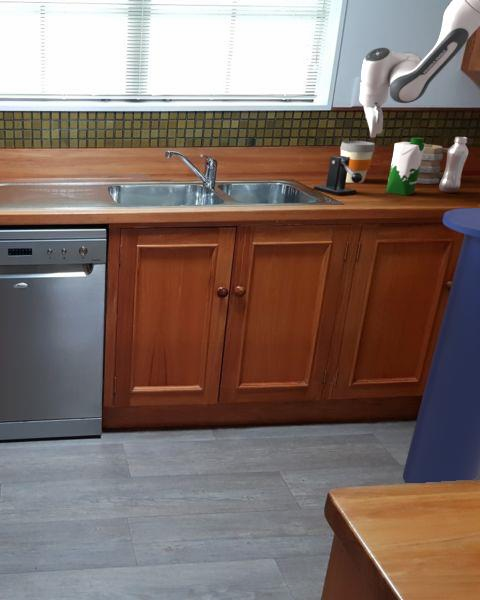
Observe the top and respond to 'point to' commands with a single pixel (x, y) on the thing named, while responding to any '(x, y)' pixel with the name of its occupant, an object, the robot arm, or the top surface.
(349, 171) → the tap lever
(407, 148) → the milk carton
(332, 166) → the black lever switch stand
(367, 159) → the reusable coffee cup
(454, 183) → the silver water bottle
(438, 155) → the tankard
